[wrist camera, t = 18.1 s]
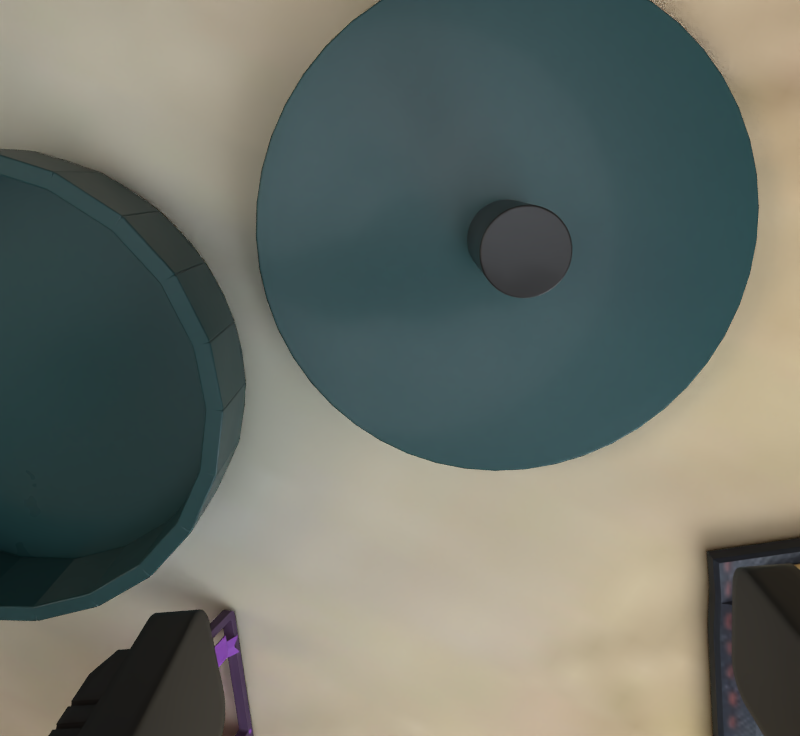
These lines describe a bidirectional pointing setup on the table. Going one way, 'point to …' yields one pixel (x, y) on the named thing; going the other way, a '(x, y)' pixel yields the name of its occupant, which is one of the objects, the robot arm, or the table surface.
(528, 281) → the tin lid
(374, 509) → the table surface
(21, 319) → the tin
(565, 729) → the table surface
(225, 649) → the purple monster toy
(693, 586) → the table surface
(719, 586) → the dark notebook
